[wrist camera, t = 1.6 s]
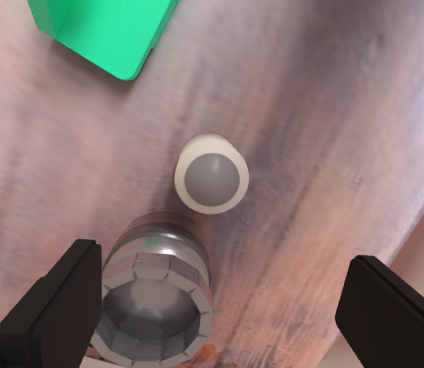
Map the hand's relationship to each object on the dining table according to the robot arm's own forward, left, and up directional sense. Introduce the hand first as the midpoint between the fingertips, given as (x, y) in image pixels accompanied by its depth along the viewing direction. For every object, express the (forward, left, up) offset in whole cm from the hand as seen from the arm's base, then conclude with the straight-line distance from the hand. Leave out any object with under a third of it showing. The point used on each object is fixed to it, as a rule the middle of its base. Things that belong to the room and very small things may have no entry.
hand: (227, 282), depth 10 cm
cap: (0, 0, -18) cm, 18 cm away
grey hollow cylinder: (+4, +10, -18) cm, 21 cm away
